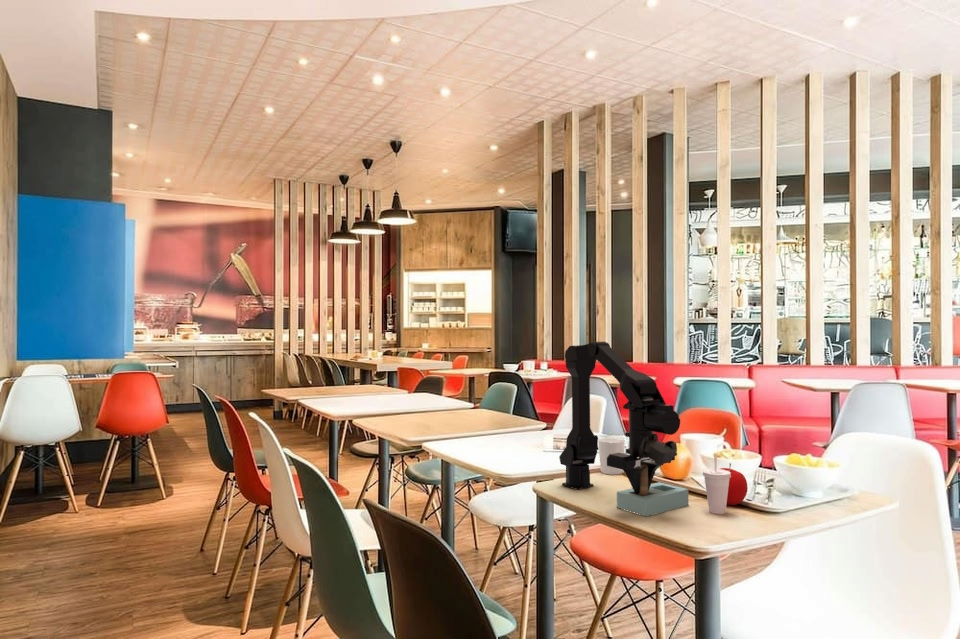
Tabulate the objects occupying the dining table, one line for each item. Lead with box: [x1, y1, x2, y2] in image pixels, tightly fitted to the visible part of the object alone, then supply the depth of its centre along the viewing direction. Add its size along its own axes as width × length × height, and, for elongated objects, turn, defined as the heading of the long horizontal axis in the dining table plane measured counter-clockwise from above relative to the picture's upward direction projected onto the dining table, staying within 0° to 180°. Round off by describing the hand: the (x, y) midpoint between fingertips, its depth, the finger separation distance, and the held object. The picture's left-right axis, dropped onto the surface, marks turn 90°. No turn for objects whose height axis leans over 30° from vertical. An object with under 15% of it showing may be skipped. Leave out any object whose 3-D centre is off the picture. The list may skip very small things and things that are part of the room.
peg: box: [636, 465, 648, 496], centre depth 153 cm, size 3×3×10 cm
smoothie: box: [702, 453, 731, 515], centre depth 151 cm, size 6×6×14 cm
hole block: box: [616, 482, 690, 517], centre depth 155 cm, size 9×16×4 cm, turn 124°
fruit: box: [719, 462, 748, 506], centre depth 158 cm, size 9×9×10 cm
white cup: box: [598, 437, 625, 476], centre depth 193 cm, size 8×8×10 cm
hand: (641, 492), depth 153 cm, fingers closed on peg, 3 cm apart
